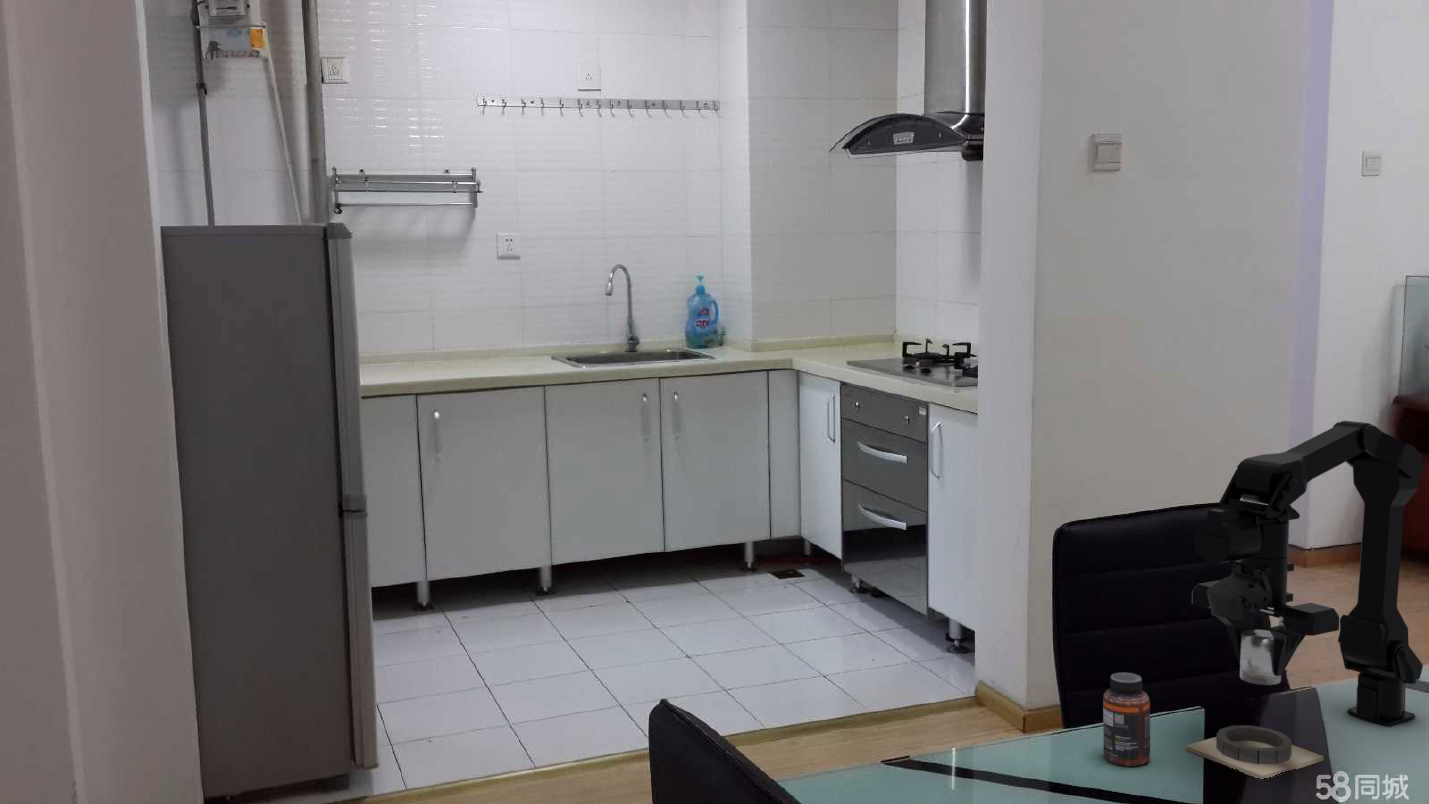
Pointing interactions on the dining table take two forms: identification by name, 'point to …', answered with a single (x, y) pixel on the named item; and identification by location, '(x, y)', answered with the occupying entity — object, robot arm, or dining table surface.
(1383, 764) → the dining table surface
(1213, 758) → the ring seat
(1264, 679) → the cylinder
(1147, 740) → the supplement bottle
